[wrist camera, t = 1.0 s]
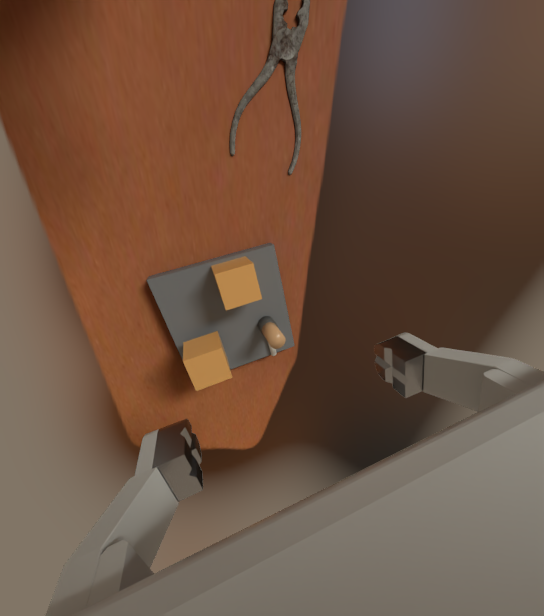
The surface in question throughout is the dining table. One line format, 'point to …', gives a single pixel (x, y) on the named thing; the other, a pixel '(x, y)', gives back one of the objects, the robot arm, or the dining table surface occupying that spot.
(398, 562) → the robot arm
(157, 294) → the board
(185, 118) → the dining table surface
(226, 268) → the tan wooden toy brick
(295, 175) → the dining table surface
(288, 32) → the pliers
